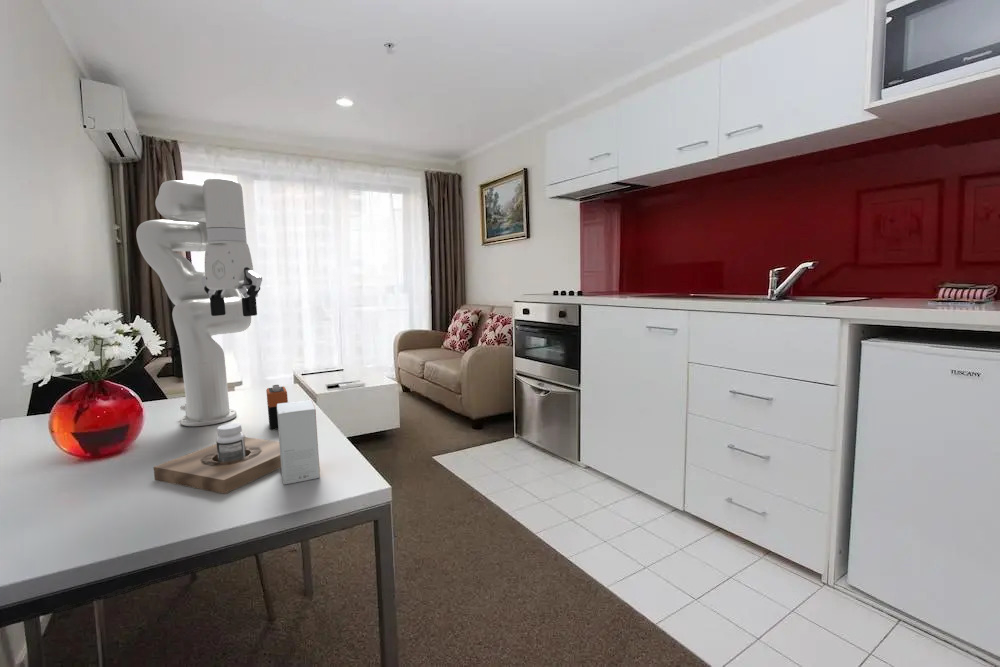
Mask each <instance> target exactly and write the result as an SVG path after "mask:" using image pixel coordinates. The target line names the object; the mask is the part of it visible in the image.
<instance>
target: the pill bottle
mask: <svg viewBox="0 0 1000 667" xmlns="http://www.w3.org/2000/svg"><path fill="white" fill-rule="evenodd" d="M244 437H245V435H244V434H243V433H242V424H241V423H238V422H234V423H226V424H222V425H219V426H218V427H217V438H216V443H215V444H217V454H218V462H227V461H233V460H238V459H241V458H244V457H246V453H245V442H244Z"/></svg>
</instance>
